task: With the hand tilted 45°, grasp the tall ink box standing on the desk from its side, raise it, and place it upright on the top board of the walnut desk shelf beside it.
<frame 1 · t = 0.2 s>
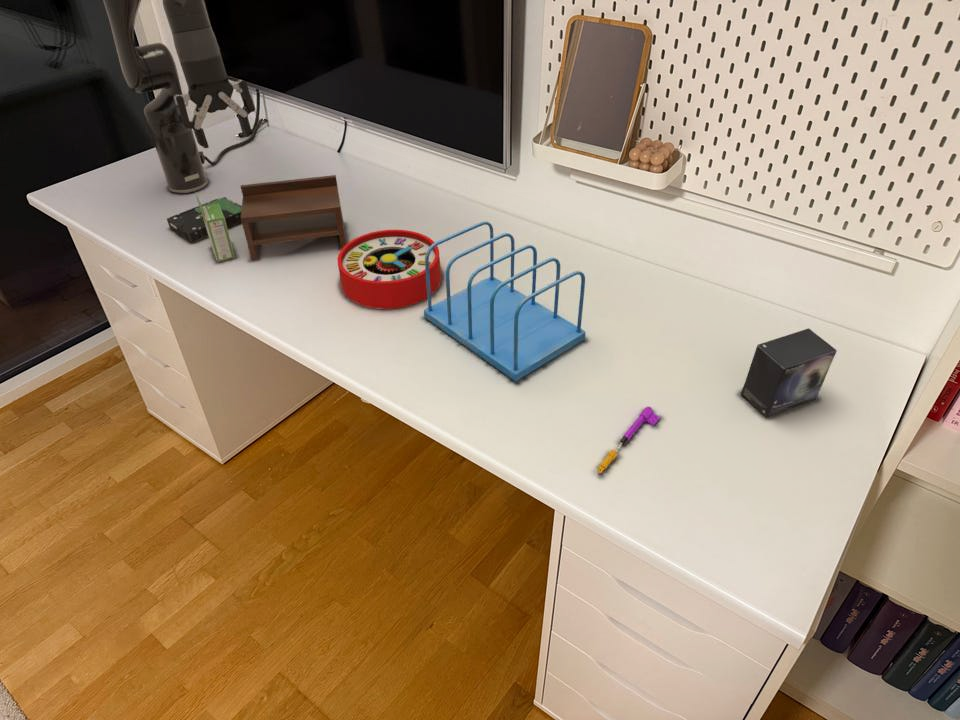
hand: (226, 141, 138), 22 cm above the table, tool pointing down, fingers open, 8 cm apart
ink box: (224, 253, 149), on the table
toy clock: (391, 280, 140), on the table
disk drive: (210, 224, 159), on the table
purple orange tool: (629, 444, 105), on the table
small box: (778, 398, 112), on the table
file sorter: (502, 329, 127), on the table
desk shelf: (299, 241, 152), on the table
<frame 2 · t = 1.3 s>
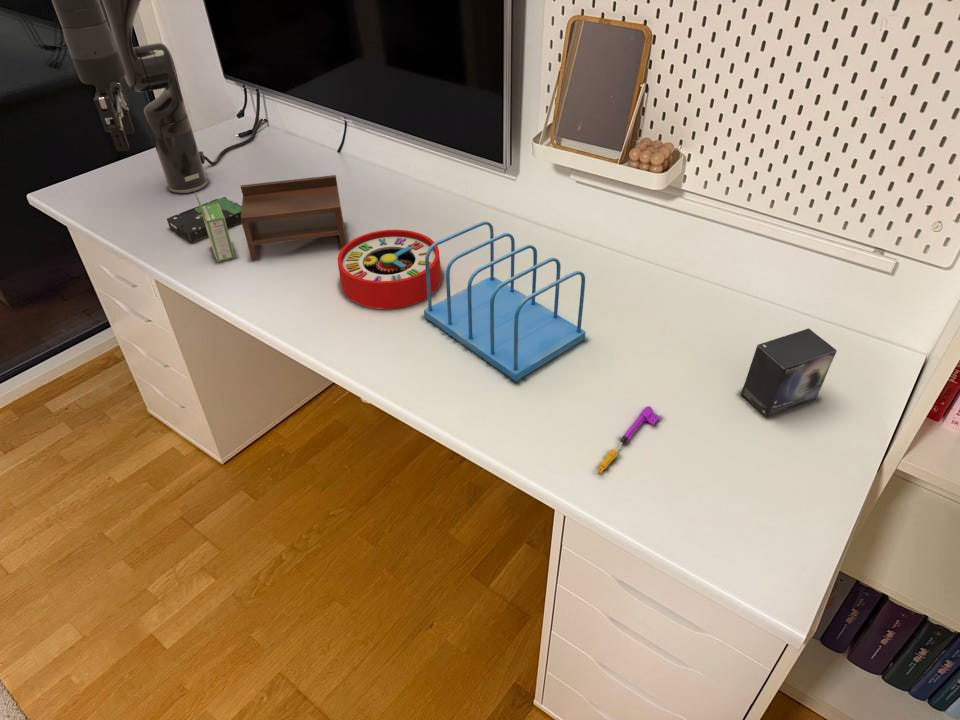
hand: (126, 141, 130), 26 cm above the table, tool pointing down, fingers open, 8 cm apart
nothing on the table moved.
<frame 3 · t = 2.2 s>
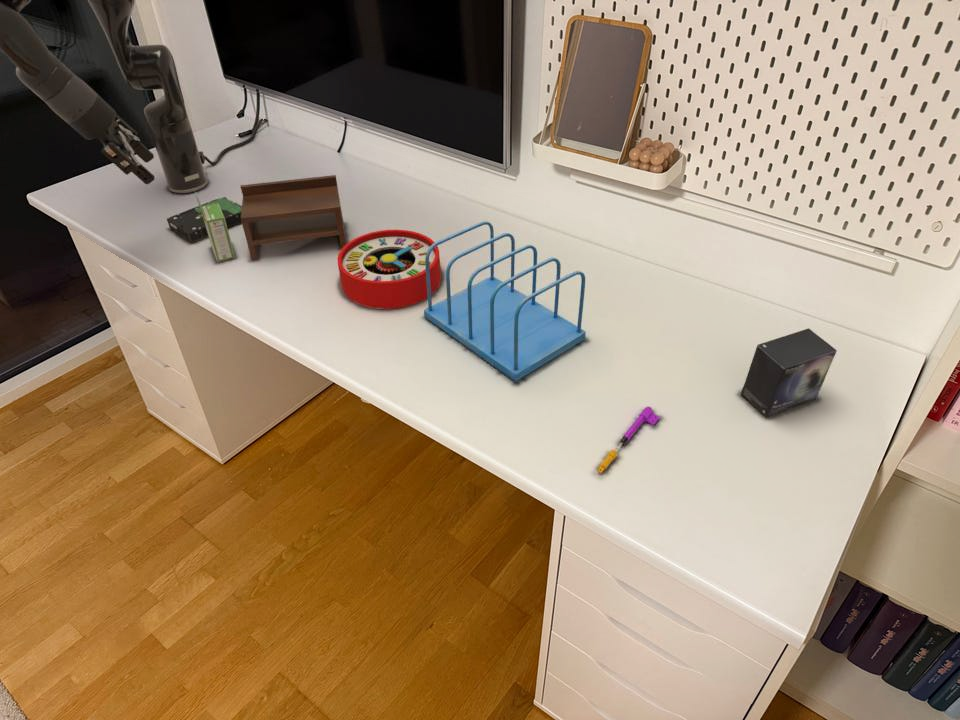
hand: (150, 170, 137), 19 cm above the table, tool tilted 30°, fingers open, 8 cm apart
nothing on the table moved.
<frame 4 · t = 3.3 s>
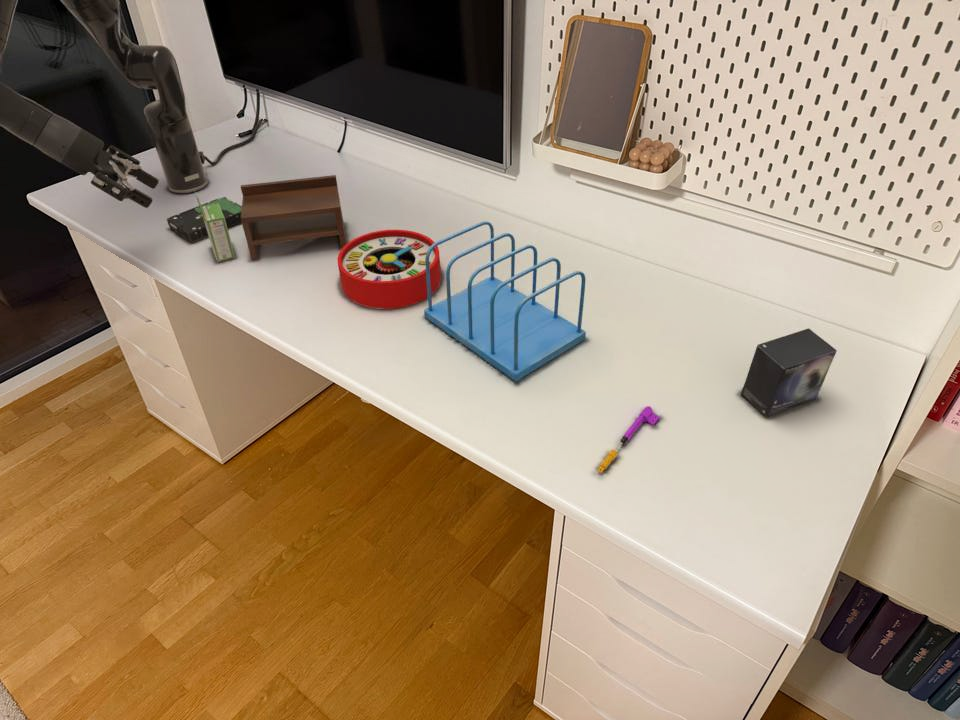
hand: (153, 194, 138), 15 cm above the table, tool tilted 45°, fingers open, 8 cm apart
nothing on the table moved.
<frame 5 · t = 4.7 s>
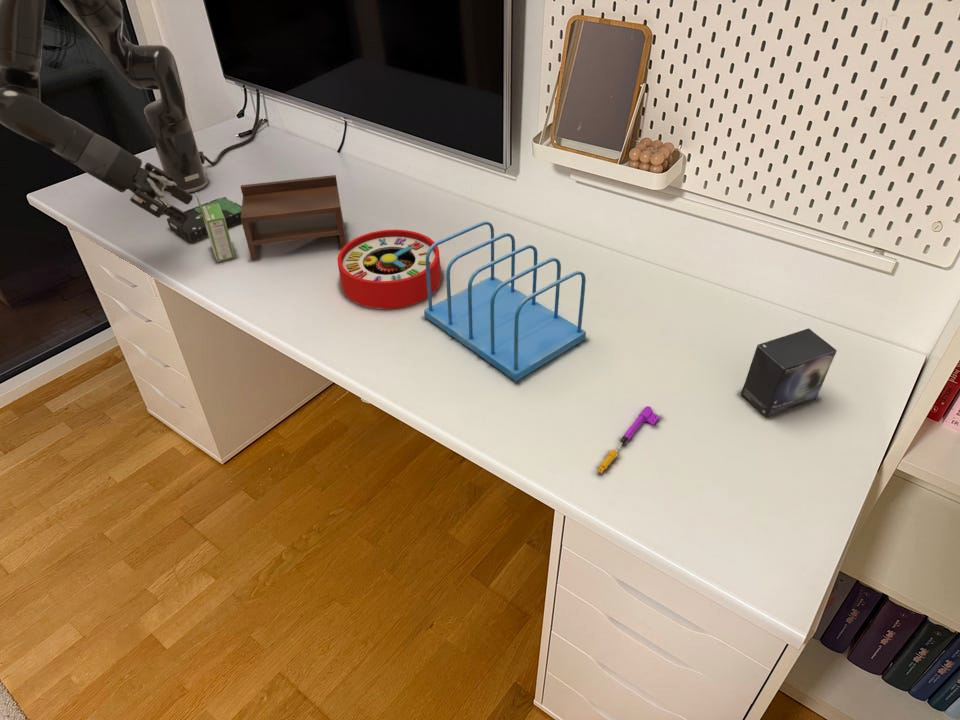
hand: (188, 210, 141), 11 cm above the table, tool tilted 45°, fingers open, 8 cm apart
nothing on the table moved.
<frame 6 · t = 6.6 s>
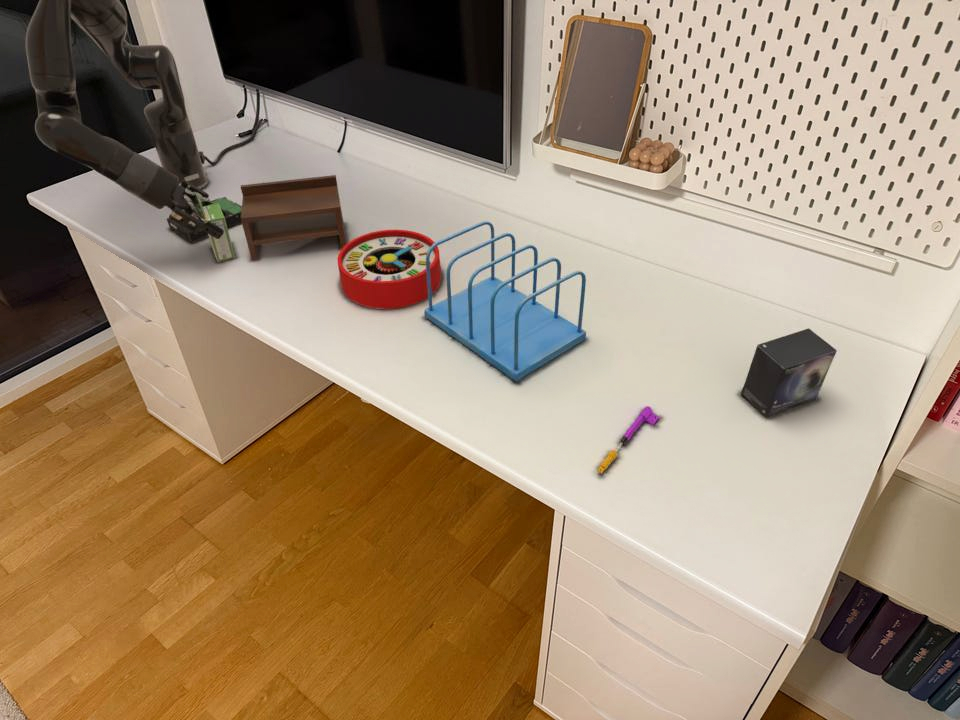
hand: (223, 225, 145), 6 cm above the table, tool tilted 45°, fingers closed on ink box, 7 cm apart
ink box: (224, 253, 149), on the table, touching gripper
everything else where it was.
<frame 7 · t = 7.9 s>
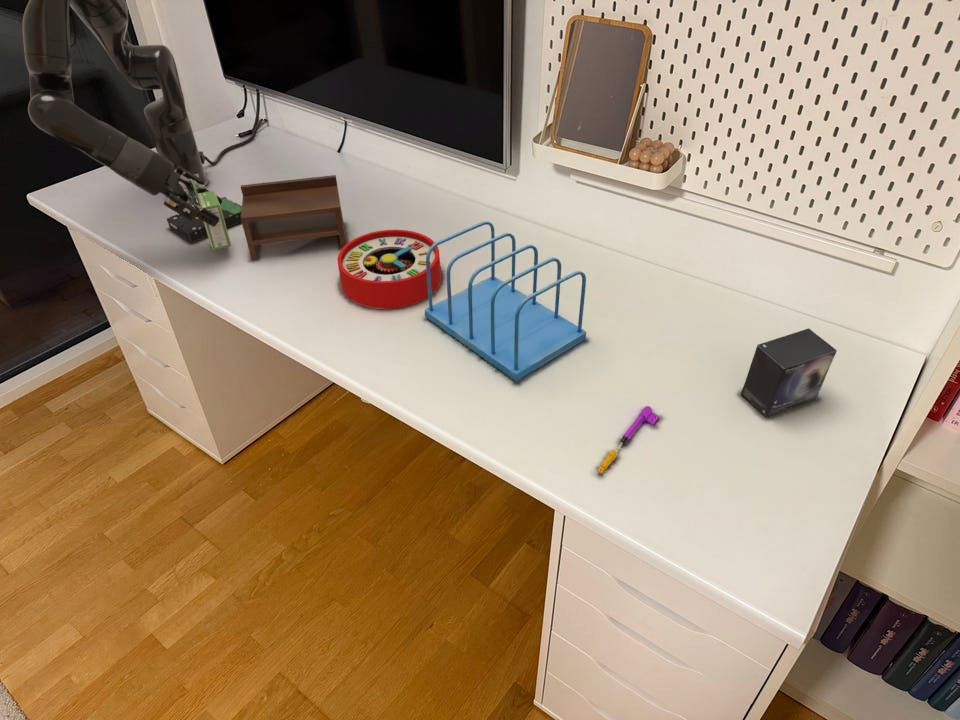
hand: (218, 213, 143), 9 cm above the table, tool tilted 45°, fingers closed on ink box, 7 cm apart
ink box: (220, 242, 147), point 3 cm above the table, touching gripper
everything else where it was.
when the fingers open (16 cm above the table, at t = 13.5 s): ink box stays where it is, resting on desk shelf.
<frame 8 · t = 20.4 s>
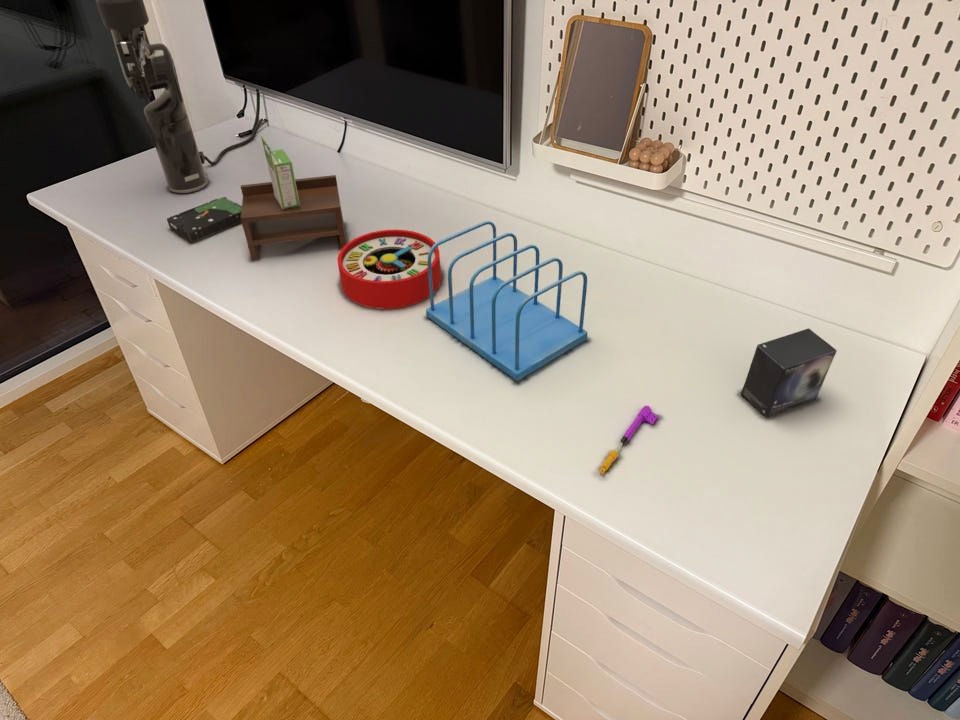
hand: (148, 90, 131), 33 cm above the table, tool pointing down, fingers open, 8 cm apart
ink box: (288, 202, 145), point 10 cm above the table, touching desk shelf
everything else where it was.
at the end: ink box inside the target area on the desk shelf (0.8 cm from its centre), point 9.8 cm above the desk shelf's base; ink box tilted 0°; the gripper is holding nothing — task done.
